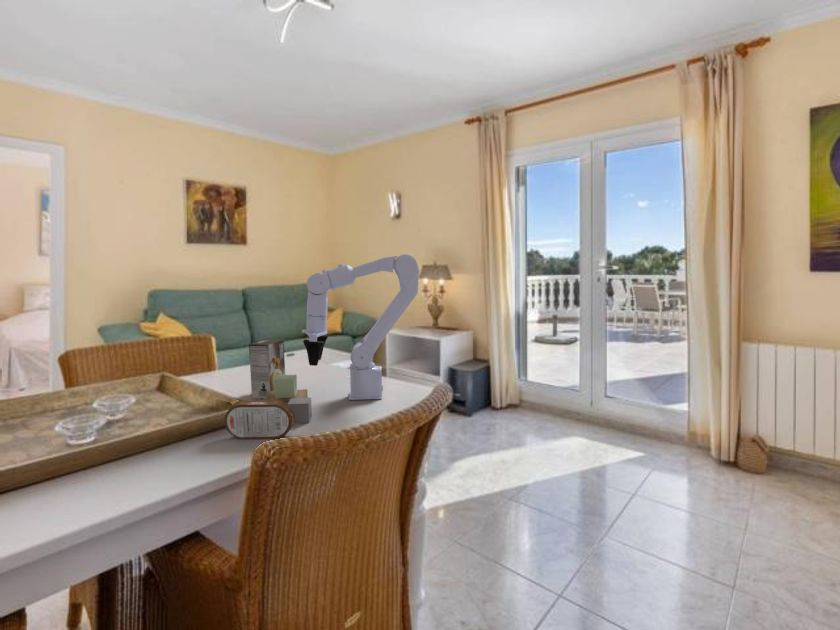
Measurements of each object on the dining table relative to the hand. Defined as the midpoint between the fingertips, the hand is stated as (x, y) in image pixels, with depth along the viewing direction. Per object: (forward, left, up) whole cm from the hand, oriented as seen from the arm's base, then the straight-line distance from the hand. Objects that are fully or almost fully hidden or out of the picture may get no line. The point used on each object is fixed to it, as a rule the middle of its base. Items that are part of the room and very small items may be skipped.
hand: (315, 362), depth 132 cm
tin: (+8, +30, -11) cm, 33 cm away
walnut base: (+7, +9, -11) cm, 16 cm away
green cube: (+7, +9, -7) cm, 13 cm away
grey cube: (+1, +19, -11) cm, 22 cm away
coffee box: (+14, -5, -11) cm, 19 cm away
